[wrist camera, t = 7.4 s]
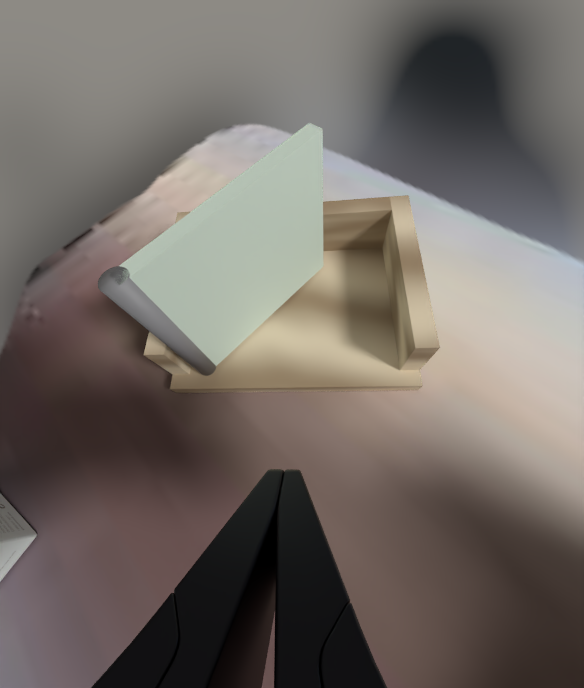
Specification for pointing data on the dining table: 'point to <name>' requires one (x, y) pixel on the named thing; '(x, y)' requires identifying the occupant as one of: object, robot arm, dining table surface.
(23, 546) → the small box
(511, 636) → the dining table surface
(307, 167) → the door
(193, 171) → the dining table surface
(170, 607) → the robot arm
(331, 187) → the dining table surface
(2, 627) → the dining table surface
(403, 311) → the wooden tray
